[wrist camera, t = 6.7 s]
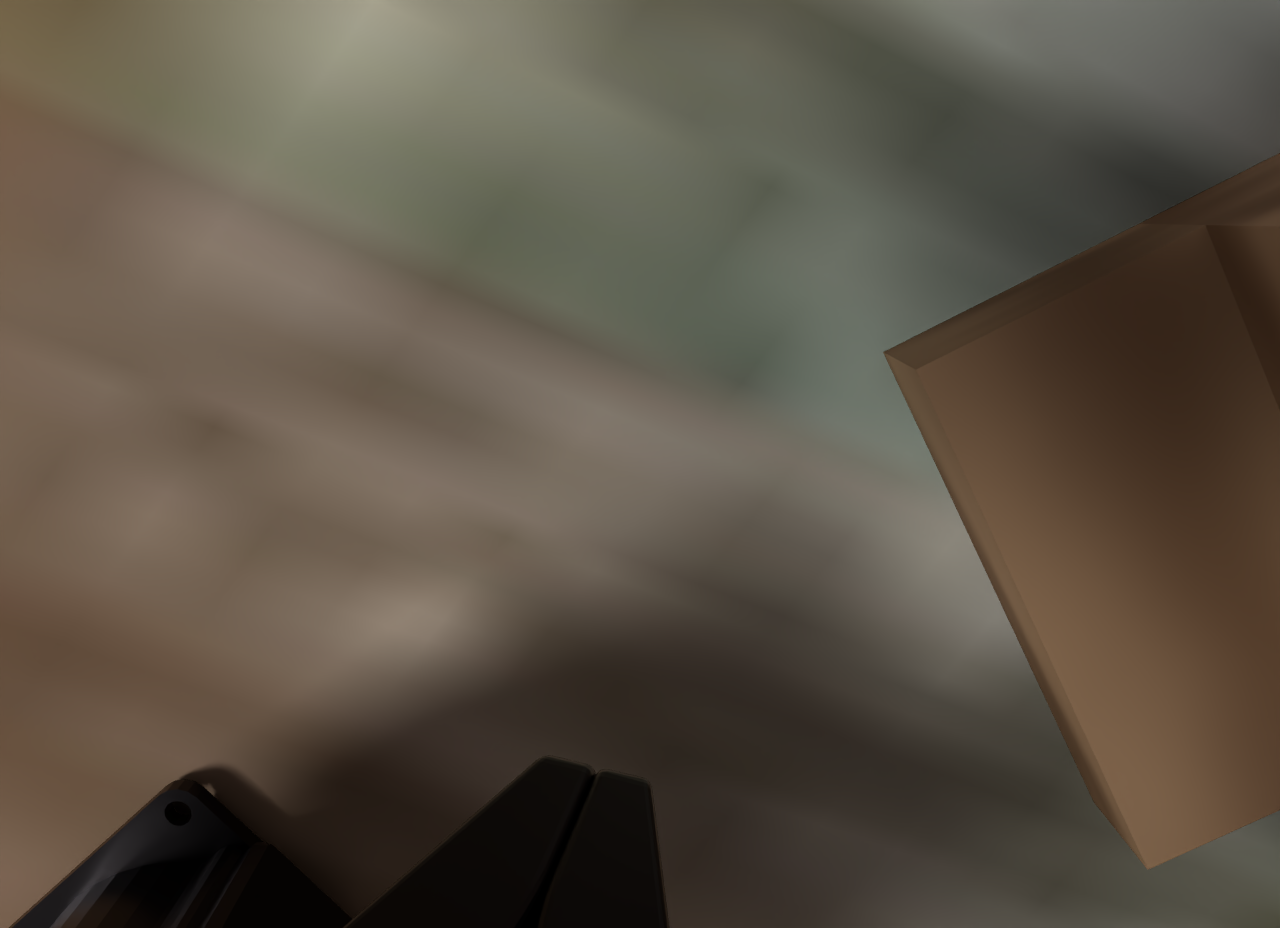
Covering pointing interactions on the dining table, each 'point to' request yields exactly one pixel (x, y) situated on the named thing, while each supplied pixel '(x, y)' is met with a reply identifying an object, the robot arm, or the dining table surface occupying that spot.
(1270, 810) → the brown stepped block
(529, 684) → the dining table surface
